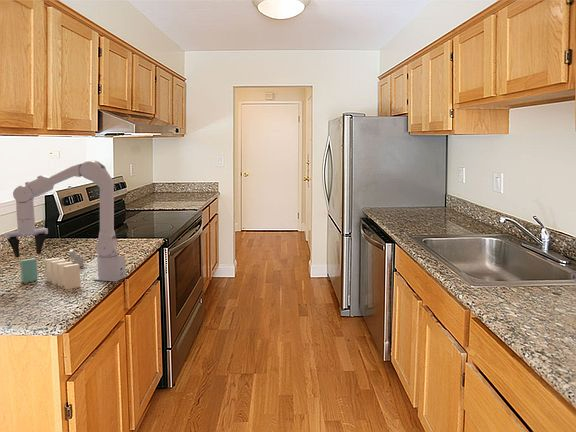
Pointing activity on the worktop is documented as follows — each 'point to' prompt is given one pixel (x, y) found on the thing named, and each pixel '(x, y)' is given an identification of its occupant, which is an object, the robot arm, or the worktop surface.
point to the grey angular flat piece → (76, 257)
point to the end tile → (29, 270)
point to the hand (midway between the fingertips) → (28, 255)
